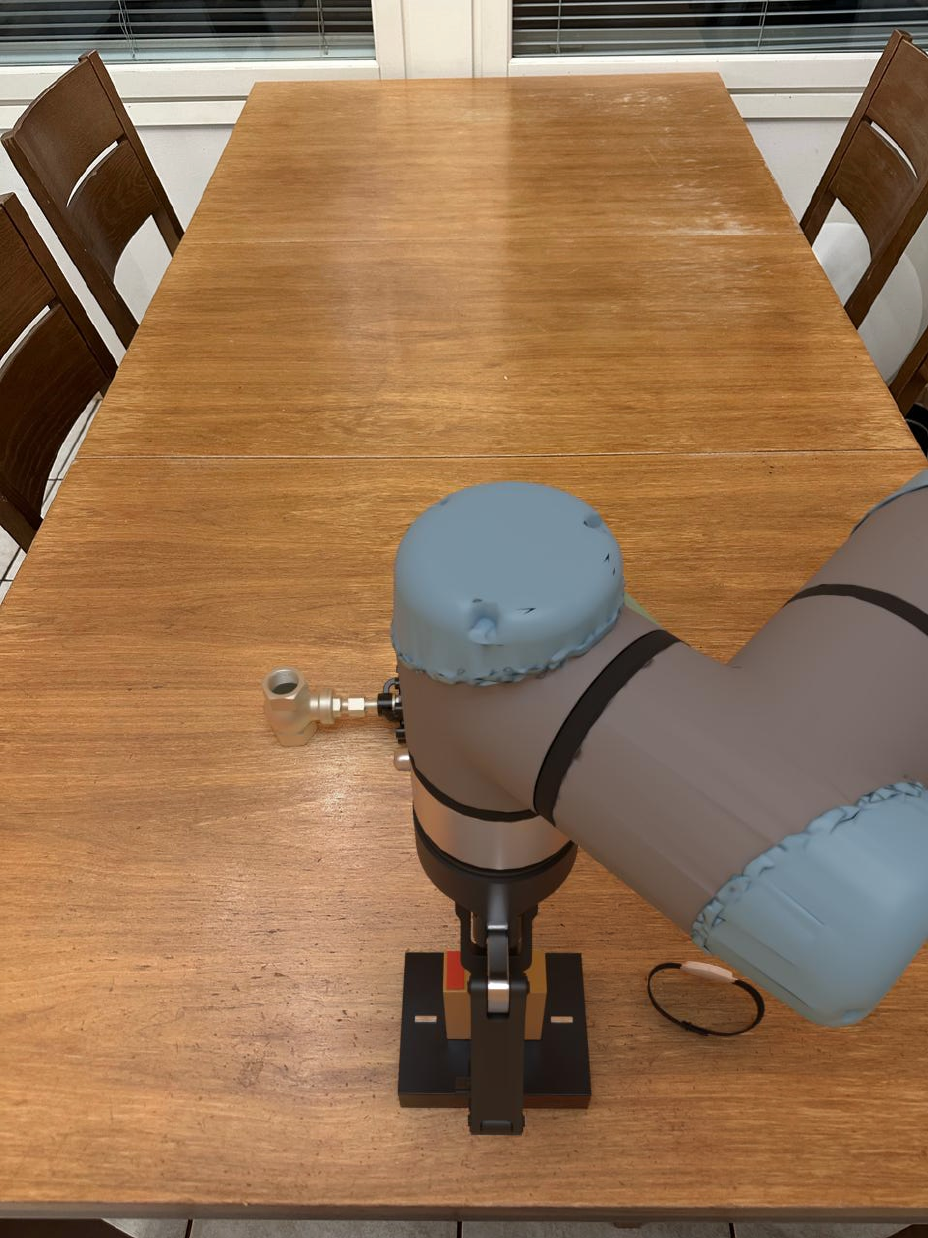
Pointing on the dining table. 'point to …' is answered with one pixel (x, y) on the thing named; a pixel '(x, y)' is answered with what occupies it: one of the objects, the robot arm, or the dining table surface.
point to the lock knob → (460, 1003)
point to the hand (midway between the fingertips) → (492, 982)
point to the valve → (320, 705)
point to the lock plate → (436, 1061)
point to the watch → (711, 974)
